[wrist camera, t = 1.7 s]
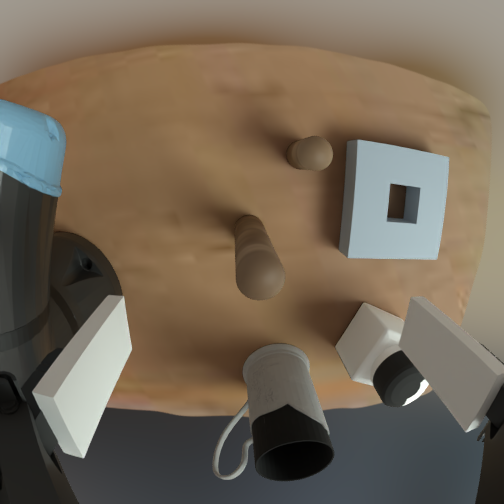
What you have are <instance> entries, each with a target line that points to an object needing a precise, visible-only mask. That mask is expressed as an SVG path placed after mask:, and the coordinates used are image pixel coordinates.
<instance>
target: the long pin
mask: <svg viewBox="0 0 504 504" xmlns="http://www.w3.org/2000/svg"><path fill="white" fill-rule="evenodd" d="M235 262H236V283H237V286H238V288H239V290H240V291H241V292H242V294H244V295H245V296H246V297H248V298H250V299H253V300H266V299H269V298H272V297H273V296H275V295H276V294H277V293H279V291H280V290H281V289H282V287H283V285H284V282H285V271H284V268H283V266H282V264H281V262H280V260H279V257H278V255H277V253H276V251H275V249H274V247H273V245H272V243H271V241H270V238H269V236H268V234H267V232H266V230H265V228H264V226H263V224H262V222H261V221H260V219H259V218H257V217H255V216H253V215H246V216H243V217H241V218H240V219H239V220H238V221H237V223H236V225H235Z"/></svg>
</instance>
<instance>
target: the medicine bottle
mask: <svg viewBox="0 0 504 504" xmlns="http://www.w3.org/2000/svg"><path fill="white" fill-rule="evenodd" d="M404 323H405V322H404V321H403V320H402V319H401V318H399V317H397V316H395V315H392V314H390V313H388V312H386V311H383V310H381V309H379V308H377V307H375V306H372V305H370V304H368V303H365V302H364V303H363V304H362V305H361V307H360V308H359V310H358V312H357V313H356V315H355V316H354V318H353V320H352V321H351V323H350V324H349V326H348V327H347V329H346V331H345V332H344V334H343V335H342V337H341V338H340V340H339V341H338V343H337V344H336V346H335V348H336V350H337V352H338V354H339V356H340V358H341V360H342V362H343V364H344V366H345V368H346V370H347V372H348V374H349V376H350V378H351V379H352V380H353V381H357V382H360V383H364V384H368V385H372V386H374V388H375V389H376V391H377V393H378V395H379V396H380V398H381V400H382V402H383V403H384V404H385V405H387V406H390V407H400V406H404V405H406V404H408V403H410V402H412V401H413V400H415V399H416V398H417V397H419V396H420V395H421V394H422V393H423V392H424V390H425V389H426V388H427V386H428V384H429V383H428V382H427V381H426V380H425V378H424V377H423V376H422V374H421V373H420V372H419V371H418V369H417V368H416V367H415V366H414V364H413V363H412V362H411V361H410V359H409V358H408V357H407V356H406V355H405V353H404V352H403V351H402V350H401V348H400V347H399V346H398V344H399V341H400V337H401V334H402V330H403V327H404Z"/></svg>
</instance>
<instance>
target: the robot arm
mask: <svg viewBox="0 0 504 504" xmlns="http://www.w3.org/2000/svg"><path fill="white" fill-rule="evenodd" d="M65 149H66V135H65V132H64V129H63V128H62V126H61V125H60V123H59V122H58V121H56V120H55V119H54V118H52V117H50V116H48V115H46V114H44V113H41V112H38V111H36V110H33V109H30V108H27V107H24V106H21V105H18V104H15V103H12V102H9V101H6V100H2V99H0V504H79V502H78V501H77V498H76V496H75V495H74V492H73V490H72V489H71V486H70V484H69V482H68V480H67V478H66V475H65V473H64V471H63V469H62V466H61V464H60V461H59V459H58V456H57V455H56V453H55V451H54V449H55V446H56V444H57V442H58V443H59V445H60V447H61V448H62V450H63V452H64V453H67V454H70V455H74V456H77V457H81V458H84V457H85V454H86V452H87V449H88V447H89V444H90V442H91V439H92V437H93V435H94V432H95V430H96V427H97V425H98V423H99V420H100V418H101V416H102V413H103V411H104V409H105V407H106V404H107V402H108V400H109V398H110V395H111V393H112V391H113V389H114V387H115V384H116V382H117V380H118V378H119V376H120V374H121V371H122V369H123V367H124V365H125V363H126V361H127V359H128V357H129V355H130V353H131V350H132V345H131V340H130V334H129V328H128V322H127V315H126V308H125V301H124V296H122V290H121V286H120V283H119V280H118V277H117V275H116V273H115V271H114V269H113V267H112V265H111V264H110V262H109V261H108V260H107V258H106V257H105V256H104V254H103V253H102V252H101V251H100V250H99V249H98V248H97V247H96V246H94V245H93V244H92V243H91V242H89V241H88V240H86V239H84V238H82V237H80V236H78V235H75V234H72V233H67V232H55V233H53V232H54V223H55V215H56V208H57V201H58V197H60V196H61V193H62V188H61V186H60V180H61V173H62V166H63V160H64V155H65ZM398 346H399V347H400V348H401V350H402V351H403V352H404V353H405V355H406V356H407V357H408V358H409V359H410V361H411V362H412V363H413V364H414V366H415V367H416V368H417V369H418V371H419V372H420V373H421V374H422V376H423V377H424V378H425V380H426V381H427V382H428V383H429V385H430V386H431V387H432V388H433V390H434V391H435V392H436V394H437V395H438V396H439V398H440V399H441V400H442V401H443V403H444V404H445V405H446V407H447V408H448V409H449V411H450V412H451V413H452V415H453V416H454V417H455V419H456V420H457V421H458V423H459V424H460V426H461V427H462V428H463V429H464V431H465V432H468V431H470V430H472V429H475V428H477V427H479V425H480V424H481V422H482V420H483V419H484V417H485V416H487V417H488V418H489V421H488V423H487V424H486V426H485V427H484V429H483V430H482V432H481V433H480V435H479V436H478V438H477V441H479V440H480V439H481V437H482V436H483V435H485V438H484V439H483V441H482V442H484V451H483V460H482V468H481V474H480V481H479V487H478V493H477V497H476V502H475V504H504V363H502V362H501V361H500V360H499V359H498V358H497V357H495V355H493V354H492V353H491V352H489V350H488V349H487V348H486V347H484V346H483V345H482V344H480V343H479V342H477V341H476V340H475V339H474V338H473V337H472V336H470V335H469V334H468V333H467V332H466V331H465V330H463V329H462V328H461V327H460V326H459V325H458V324H456V323H455V322H454V321H453V320H452V319H450V318H449V317H448V316H447V315H446V314H444V313H443V312H442V311H441V310H439V309H438V308H437V307H436V306H435V305H433V304H432V303H431V302H430V301H428V300H427V299H426V298H425V297H423V296H420V297H411V299H410V303H409V307H408V311H407V315H406V319H405V323H404V327H403V330H402V334H401V337H400V341H399V344H398Z"/></svg>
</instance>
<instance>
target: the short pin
mask: <svg viewBox="0 0 504 504" xmlns="http://www.w3.org/2000/svg"><path fill="white" fill-rule="evenodd" d="M286 156H287V160H288V162H289V164H290V165H291V166H293V167H294V168H296V169H302V170H312V171H320V170H323V169H325V168H326V167H328V166H329V164H330V163H331V161H332V157H333V151H332V147H331V145H330V144H329V142H328V141H327V140H325V139H324V138H322V137H319V136H311V137H308V138H305V139H302V140H299V141H296V142H294V143H292V144H291V145H290V146H289V147H288V149H287V154H286Z"/></svg>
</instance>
